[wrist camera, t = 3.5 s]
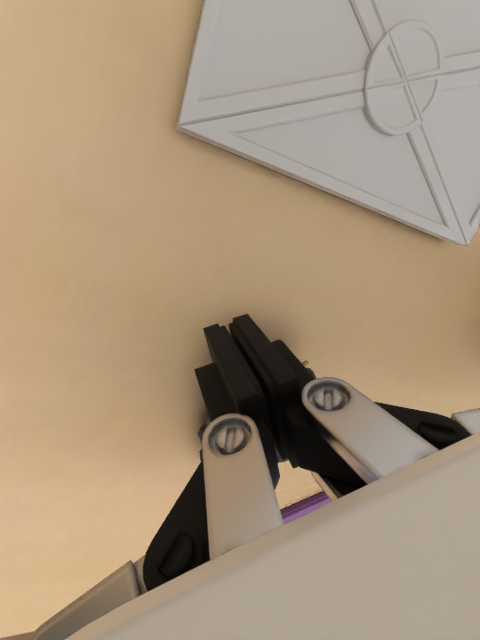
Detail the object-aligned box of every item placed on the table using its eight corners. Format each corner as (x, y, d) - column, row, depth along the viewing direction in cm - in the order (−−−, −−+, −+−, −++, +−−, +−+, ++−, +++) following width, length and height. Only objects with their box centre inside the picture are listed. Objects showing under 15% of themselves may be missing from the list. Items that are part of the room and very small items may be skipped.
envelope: (249, -219, 13) (175, 130, 18) (267, -286, 11) (178, 125, 16) (547, 57, 22) (446, 241, 27) (585, 45, 20) (469, 247, 25)
